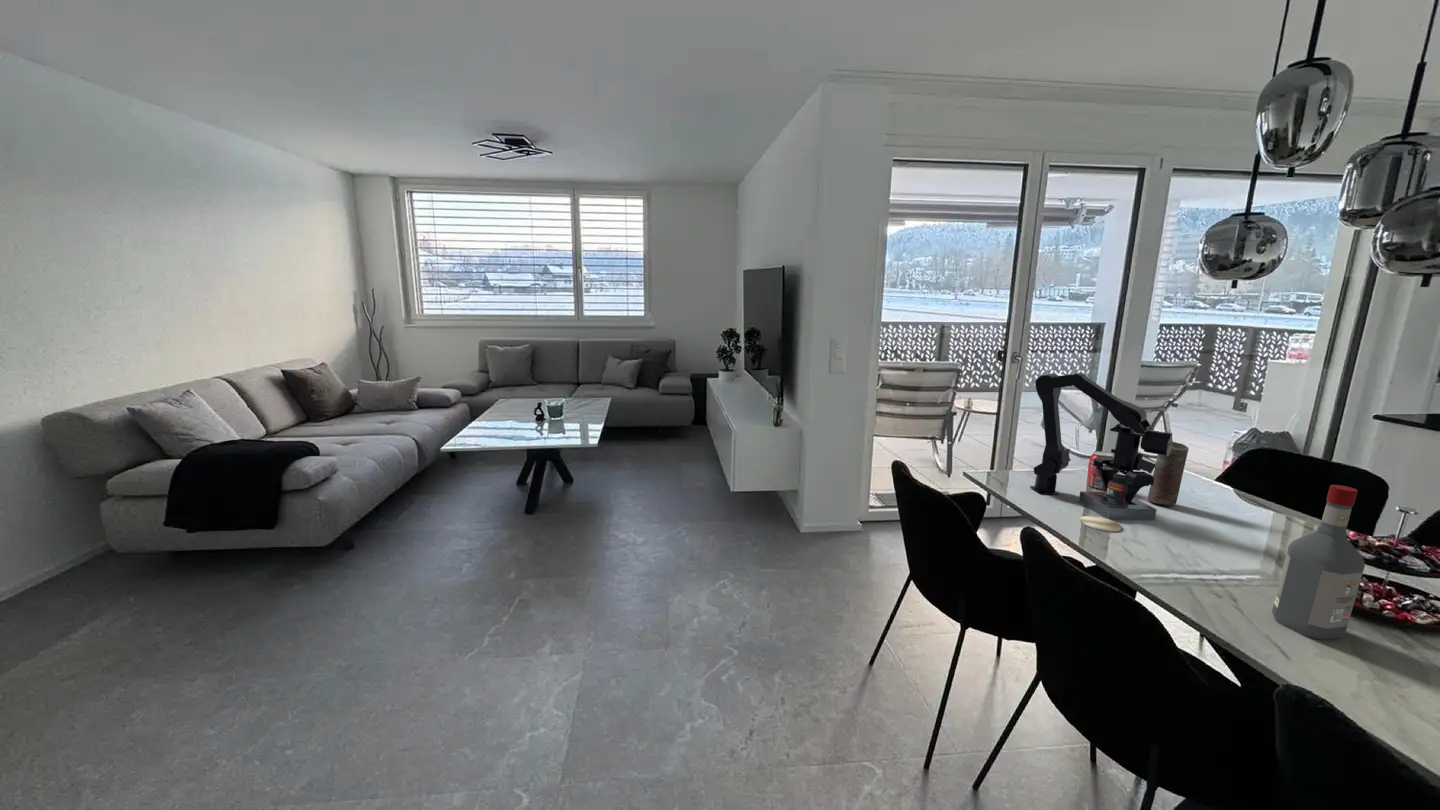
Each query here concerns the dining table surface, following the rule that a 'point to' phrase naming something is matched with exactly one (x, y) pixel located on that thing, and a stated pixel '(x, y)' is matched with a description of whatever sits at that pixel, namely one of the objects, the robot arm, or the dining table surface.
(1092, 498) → the socket plate
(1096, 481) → the soda can
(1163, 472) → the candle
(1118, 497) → the supplement bottle
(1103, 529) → the coaster pad
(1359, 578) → the grey bottle
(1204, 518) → the dining table surface
